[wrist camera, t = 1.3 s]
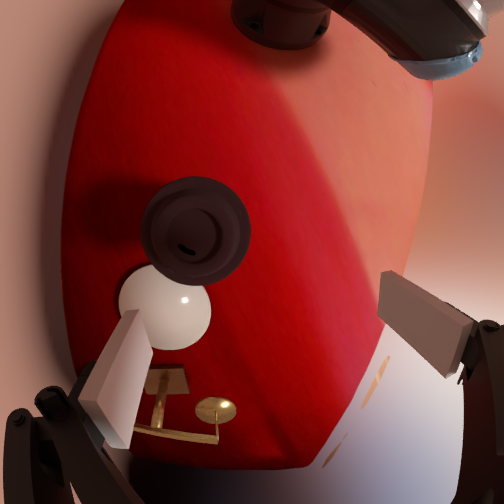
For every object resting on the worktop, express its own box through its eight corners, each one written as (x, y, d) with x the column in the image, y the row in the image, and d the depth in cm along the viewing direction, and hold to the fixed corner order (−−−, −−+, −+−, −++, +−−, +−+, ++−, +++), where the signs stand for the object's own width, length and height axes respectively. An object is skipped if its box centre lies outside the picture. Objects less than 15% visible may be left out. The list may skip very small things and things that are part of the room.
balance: (100, 364, 40) (73, 422, 26) (229, 360, 43) (238, 427, 28) (111, 388, 41) (90, 446, 27) (232, 385, 44) (242, 450, 30)
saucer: (112, 266, 36) (109, 268, 35) (205, 257, 38) (205, 260, 36) (133, 346, 40) (131, 351, 38) (215, 342, 41) (216, 346, 40)
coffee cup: (217, 165, 35) (220, 154, 20) (250, 230, 38) (273, 261, 23) (153, 200, 35) (115, 213, 20) (187, 262, 38) (173, 311, 23)
